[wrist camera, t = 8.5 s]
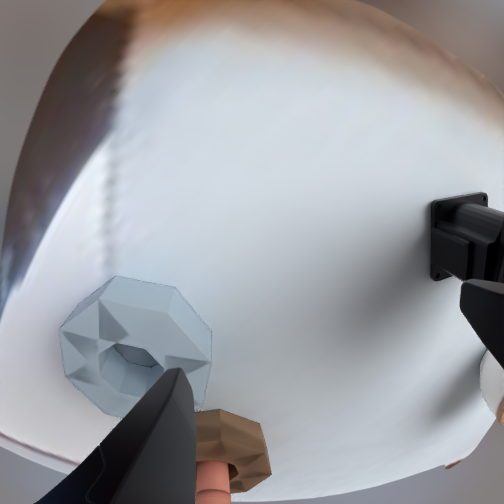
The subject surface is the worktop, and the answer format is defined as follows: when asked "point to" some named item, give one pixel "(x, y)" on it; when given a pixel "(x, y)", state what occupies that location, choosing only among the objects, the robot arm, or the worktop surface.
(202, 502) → the pink rounded cylinder
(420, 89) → the worktop surface
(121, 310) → the blue bead
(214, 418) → the walnut bead
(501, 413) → the lidded jar
